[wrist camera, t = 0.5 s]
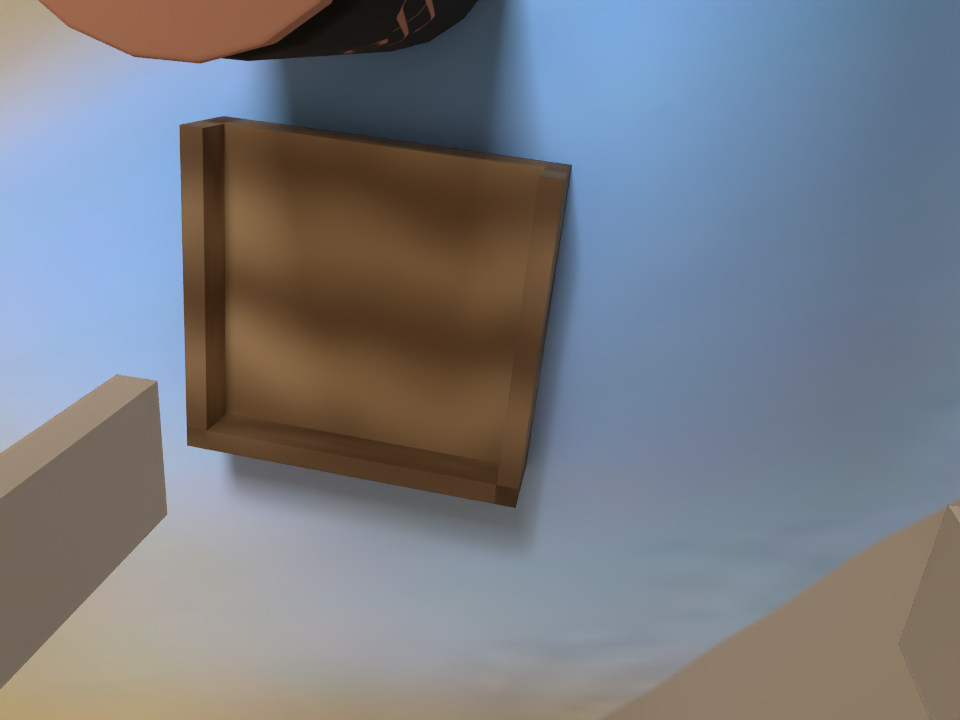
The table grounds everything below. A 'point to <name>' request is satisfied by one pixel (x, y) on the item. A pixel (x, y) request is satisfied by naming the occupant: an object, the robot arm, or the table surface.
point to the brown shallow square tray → (366, 303)
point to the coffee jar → (258, 26)
